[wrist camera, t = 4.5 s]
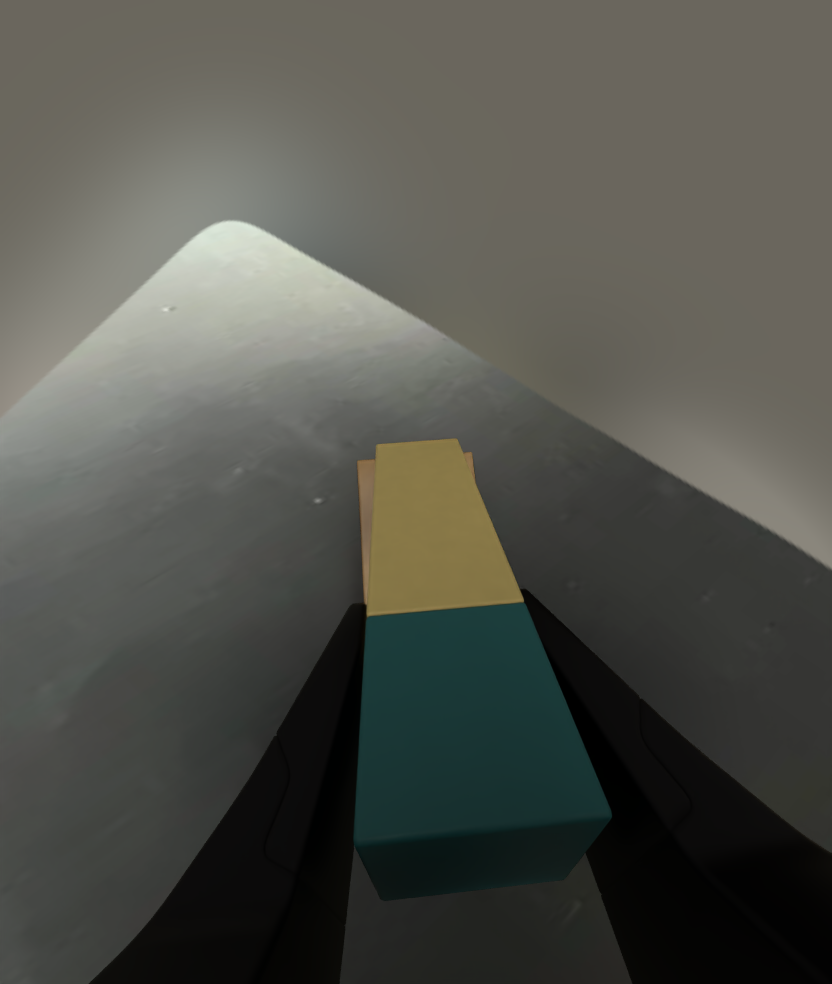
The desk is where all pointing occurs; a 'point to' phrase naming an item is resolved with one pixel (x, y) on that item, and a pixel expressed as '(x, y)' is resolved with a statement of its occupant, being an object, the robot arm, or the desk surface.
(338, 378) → the desk surface
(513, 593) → the two-tone square bar
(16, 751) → the desk surface
